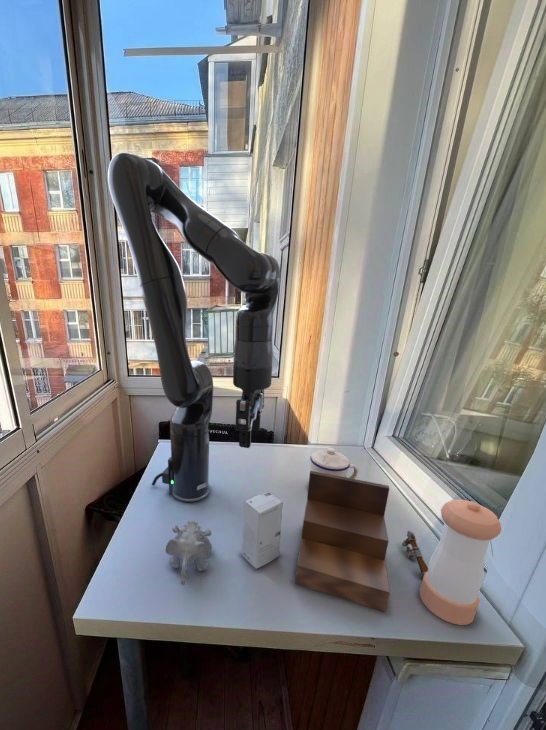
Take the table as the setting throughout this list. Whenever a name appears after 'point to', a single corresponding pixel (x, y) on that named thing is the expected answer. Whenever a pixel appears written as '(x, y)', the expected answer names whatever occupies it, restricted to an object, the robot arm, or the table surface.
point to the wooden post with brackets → (415, 552)
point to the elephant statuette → (189, 548)
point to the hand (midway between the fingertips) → (249, 438)
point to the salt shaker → (459, 561)
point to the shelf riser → (345, 540)
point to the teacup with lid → (331, 463)
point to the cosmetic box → (261, 529)
